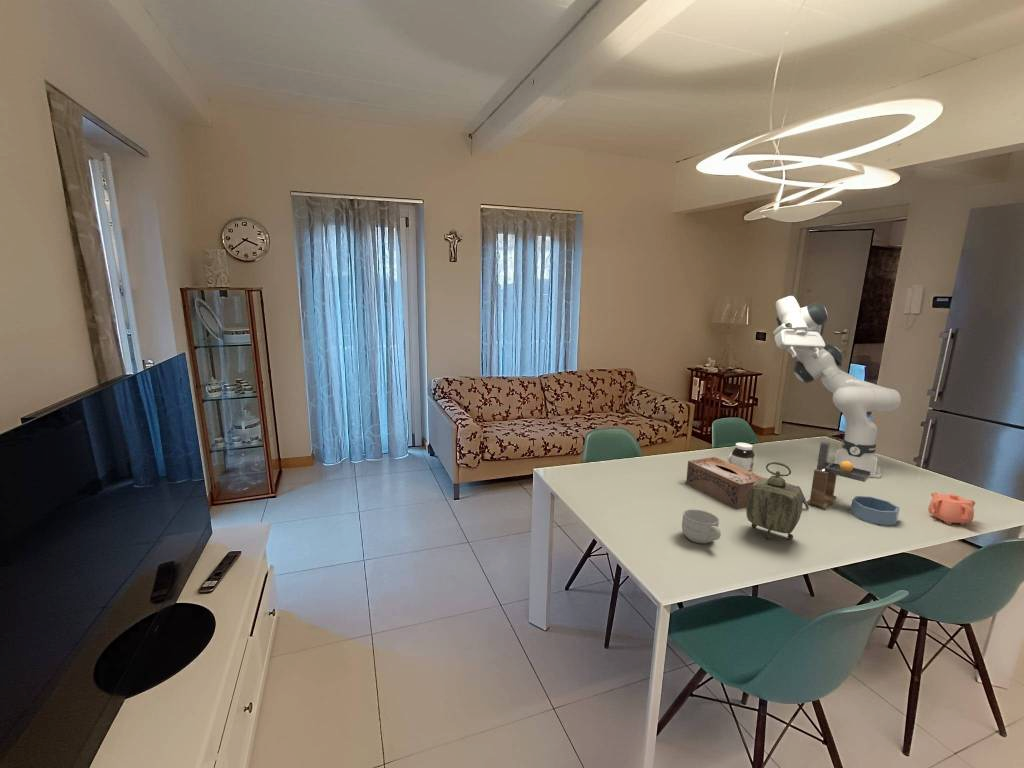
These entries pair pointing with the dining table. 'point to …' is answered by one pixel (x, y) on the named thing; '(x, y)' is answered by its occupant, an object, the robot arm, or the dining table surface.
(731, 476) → the tissue box cover
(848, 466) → the ball
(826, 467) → the lever
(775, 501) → the tabletop clock
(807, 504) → the flower
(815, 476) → the stand
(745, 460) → the spread jar
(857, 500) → the blue octagonal bowl
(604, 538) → the dining table surface
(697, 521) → the teacup
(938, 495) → the teapot
